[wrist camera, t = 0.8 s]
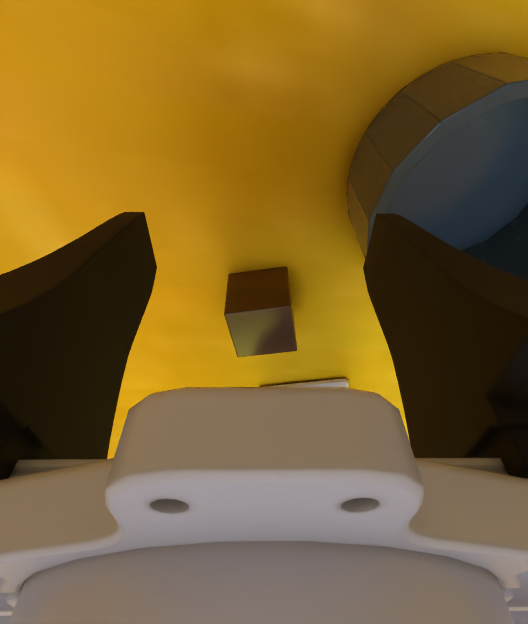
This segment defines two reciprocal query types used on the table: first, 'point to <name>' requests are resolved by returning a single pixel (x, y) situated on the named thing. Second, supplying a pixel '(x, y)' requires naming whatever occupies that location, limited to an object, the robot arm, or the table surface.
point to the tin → (452, 160)
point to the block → (260, 312)
